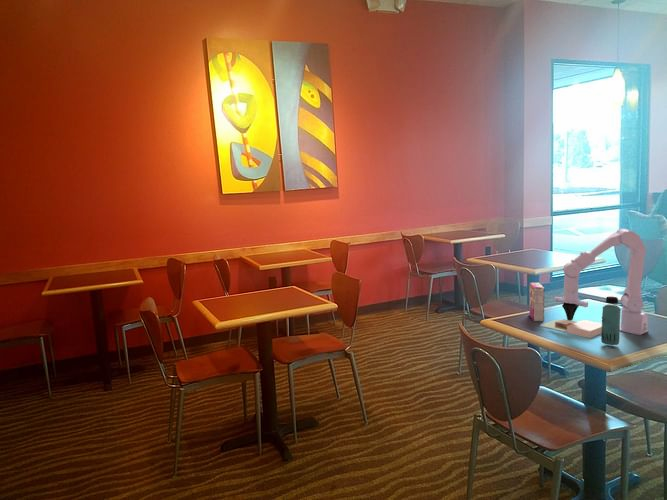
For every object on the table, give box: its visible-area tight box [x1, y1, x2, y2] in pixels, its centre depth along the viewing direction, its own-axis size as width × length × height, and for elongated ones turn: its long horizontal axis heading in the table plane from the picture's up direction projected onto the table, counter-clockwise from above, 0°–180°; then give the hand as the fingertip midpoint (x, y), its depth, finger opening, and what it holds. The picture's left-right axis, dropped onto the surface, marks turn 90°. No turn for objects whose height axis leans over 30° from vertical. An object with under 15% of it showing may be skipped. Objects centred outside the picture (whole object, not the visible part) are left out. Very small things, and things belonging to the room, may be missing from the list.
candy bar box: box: [528, 282, 545, 322], centre depth 233 cm, size 11×5×16 cm, turn 168°
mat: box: [539, 319, 567, 333], centre depth 221 cm, size 12×14×1 cm
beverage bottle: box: [600, 296, 622, 346], centre depth 191 cm, size 6×7×20 cm
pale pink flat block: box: [566, 319, 602, 339], centre depth 211 cm, size 10×14×3 cm
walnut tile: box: [555, 318, 578, 329], centre depth 218 cm, size 7×7×2 cm
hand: (570, 319), depth 217 cm, fingers closed
